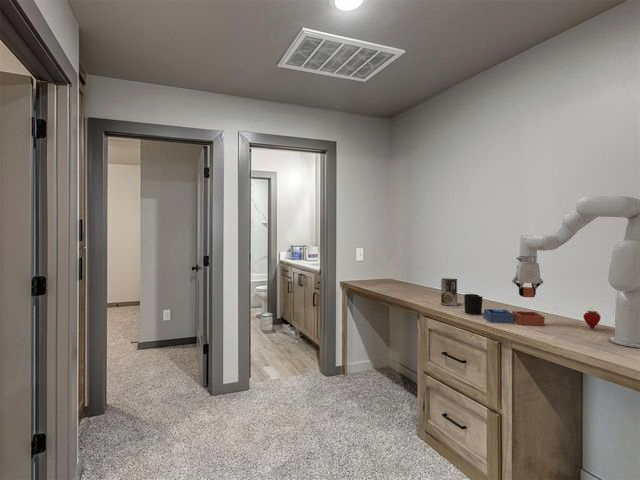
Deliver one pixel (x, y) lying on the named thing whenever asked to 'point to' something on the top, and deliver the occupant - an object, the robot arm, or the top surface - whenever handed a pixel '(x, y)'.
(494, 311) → the blue block
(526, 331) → the top surface
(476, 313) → the pen holder
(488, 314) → the blue bin
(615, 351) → the top surface
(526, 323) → the terracotta bin
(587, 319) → the strawberry
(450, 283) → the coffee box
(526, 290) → the terracotta block
